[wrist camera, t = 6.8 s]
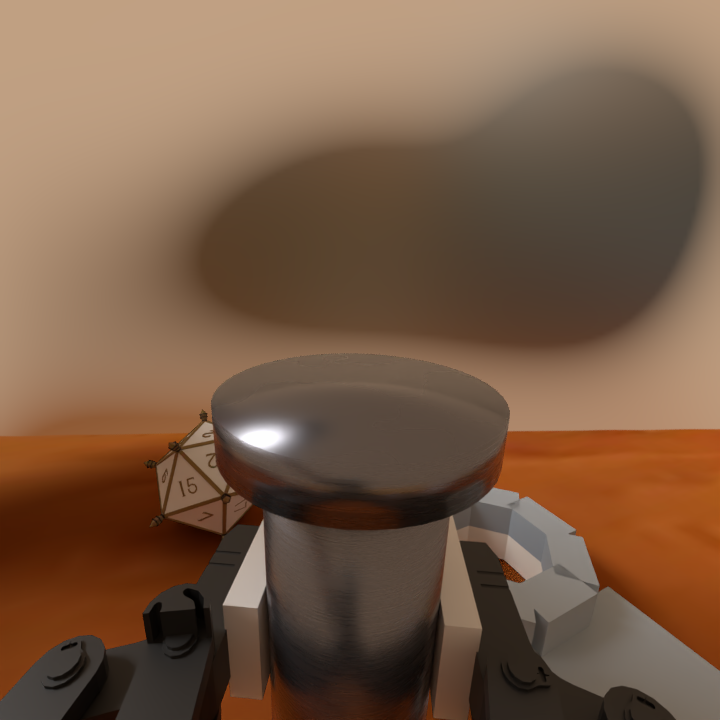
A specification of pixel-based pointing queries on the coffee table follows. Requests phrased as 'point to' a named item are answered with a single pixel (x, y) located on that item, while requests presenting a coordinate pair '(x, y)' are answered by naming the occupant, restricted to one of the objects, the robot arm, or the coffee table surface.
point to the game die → (196, 485)
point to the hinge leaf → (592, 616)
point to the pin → (356, 517)
